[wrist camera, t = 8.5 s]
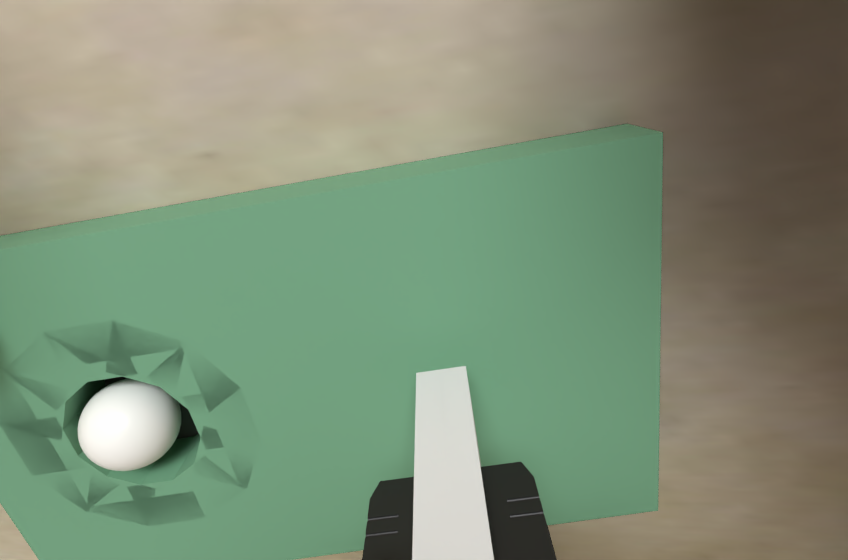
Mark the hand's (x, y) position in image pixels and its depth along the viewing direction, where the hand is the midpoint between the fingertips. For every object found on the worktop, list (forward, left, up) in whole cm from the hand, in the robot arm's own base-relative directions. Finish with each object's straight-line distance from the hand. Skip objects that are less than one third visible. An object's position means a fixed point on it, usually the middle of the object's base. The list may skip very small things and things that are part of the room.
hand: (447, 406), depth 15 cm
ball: (0, -11, -2) cm, 12 cm away
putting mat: (0, -5, -4) cm, 6 cm away
